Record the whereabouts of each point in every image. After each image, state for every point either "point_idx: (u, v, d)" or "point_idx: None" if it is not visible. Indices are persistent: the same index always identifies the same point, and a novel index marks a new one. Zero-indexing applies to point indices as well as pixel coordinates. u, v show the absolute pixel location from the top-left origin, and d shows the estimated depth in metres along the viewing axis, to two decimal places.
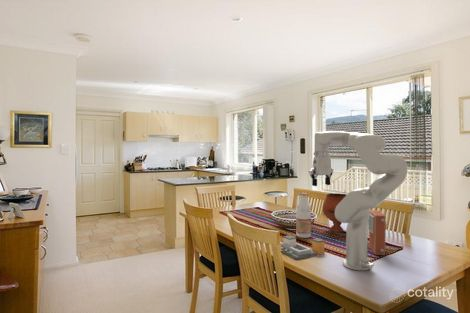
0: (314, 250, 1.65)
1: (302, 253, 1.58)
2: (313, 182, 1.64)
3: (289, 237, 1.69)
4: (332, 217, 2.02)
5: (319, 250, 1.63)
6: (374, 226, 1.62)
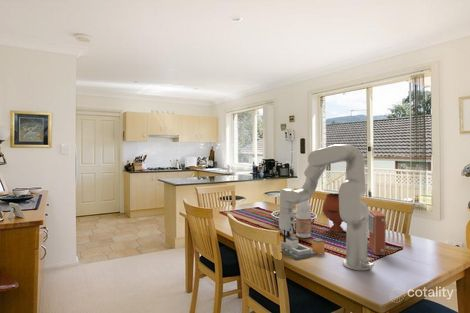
0: (314, 250, 1.65)
1: (302, 253, 1.58)
2: None
3: (291, 238, 1.67)
4: (332, 217, 2.02)
5: (319, 250, 1.63)
6: (374, 226, 1.62)
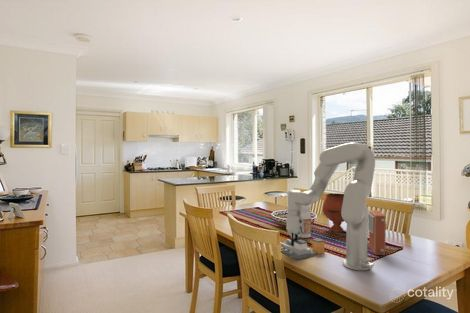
0: (314, 250, 1.65)
1: (302, 253, 1.58)
2: None
3: (300, 242, 1.61)
4: (332, 217, 2.02)
5: (319, 250, 1.63)
6: (374, 226, 1.62)
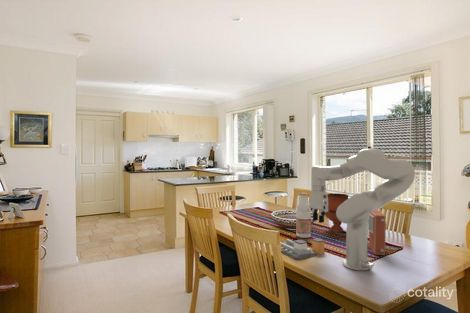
0: (314, 250, 1.65)
1: (302, 253, 1.58)
2: (322, 219, 1.62)
3: (300, 241, 1.61)
4: (332, 217, 2.02)
5: (319, 250, 1.63)
6: (374, 226, 1.62)
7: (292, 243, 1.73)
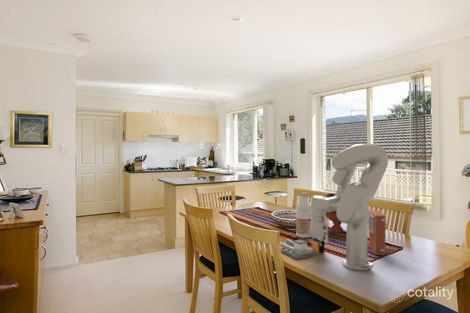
0: (314, 250, 1.65)
1: (302, 253, 1.58)
2: (323, 249, 1.63)
3: (300, 241, 1.61)
4: (332, 217, 2.02)
5: None
6: (374, 226, 1.62)
7: (292, 243, 1.73)
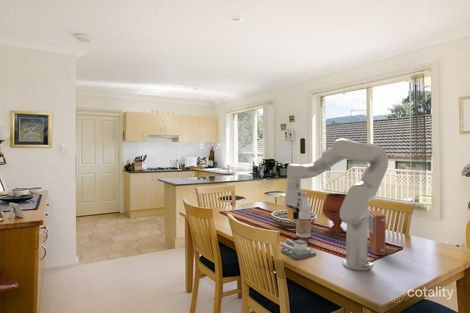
0: (289, 217, 1.70)
1: (302, 253, 1.58)
2: (297, 215, 1.67)
3: (300, 241, 1.61)
4: (332, 217, 2.02)
5: (293, 216, 1.68)
6: (374, 226, 1.62)
7: (292, 243, 1.73)
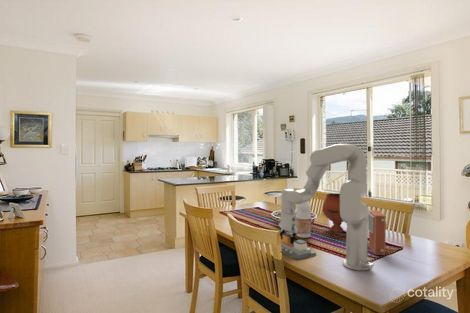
0: None
1: (302, 253, 1.58)
2: (294, 240, 1.67)
3: (300, 241, 1.61)
4: (332, 217, 2.02)
5: (288, 243, 1.69)
6: (374, 226, 1.62)
7: None
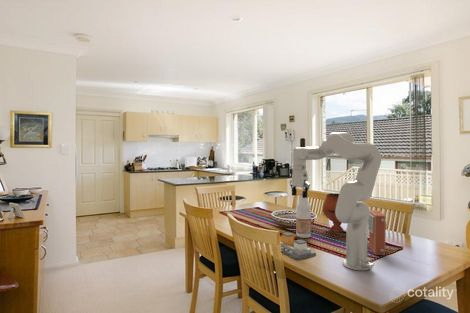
0: None
1: (302, 253, 1.58)
2: (306, 194, 1.75)
3: (300, 241, 1.61)
4: (332, 217, 2.02)
5: (288, 243, 1.69)
6: (374, 226, 1.62)
7: None
